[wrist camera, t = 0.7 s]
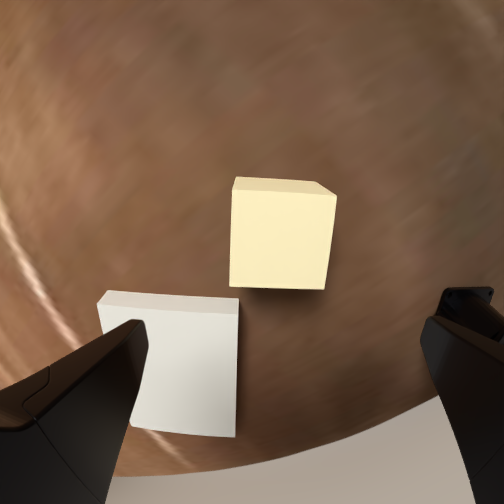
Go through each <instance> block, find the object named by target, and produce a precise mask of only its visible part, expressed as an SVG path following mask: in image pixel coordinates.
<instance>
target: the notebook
mask: <svg viewBox="0 0 504 504" xmlns="http://www.w3.org/2000/svg"><path fill="white" fill-rule="evenodd" d="M97 307H98V312H99V317H100V321H101V325H102V330H103V334H105V333H107V332H109V331H110V330H112V329H114V328H116V327H117V326H119V325H121V324H123V323H125V322H126V321H128V320H130V319H140V320H143V321H144V323H145V326H146V331H147V336H148V341H149V349H148V354H147V358H146V363H145V367H144V372H143V377H142V381H141V386H140V390H139V393H138V396H137V399H136V402H135V405H134V408H133V411H132V414H131V417H130V423H131V426H134V427H139V428H145V429H152V430H159V431H166V432H174V433H183V434H192V435H204V436H219V437H235V423H236V380H237V343H238V310H239V299H237V298H215V297H195V296H178V295H162V294H148V293H135V292H123V291H111V290H108V291H107V292H106V293H105V294H104V296H103V297H102V298H101V299H100V301H99V302H98V303H97Z"/></svg>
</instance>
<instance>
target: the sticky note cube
mask: <svg viewBox="0 0 504 504" xmlns="http://www.w3.org/2000/svg"><path fill="white" fill-rule="evenodd" d="M336 199H337V196H336V195H335V194H333V193H332V192H330V191H329V190H327V189H326V188H324V187H323V186H321V185H320V184H318V183H317V182H312V181H300V180H285V179H269V178H249V177H236V179H235V182H234V186H233V189H232V212H231V245H230V286H232V287H257V288H289V289H324V287H325V280H326V274H327V268H328V261H329V254H330V247H331V240H332V232H333V225H334V217H335V208H336Z"/></svg>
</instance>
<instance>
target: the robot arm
mask: <svg viewBox="0 0 504 504" xmlns="http://www.w3.org/2000/svg"><path fill="white" fill-rule="evenodd" d="M493 293H494V289H493V288H491V287H453V288H447V289H445V291H444V292H443V295H442V299H441V302H440V305H439V308H438V311H437V314H436V316H430V317H428V318H427V319H426V322H425V325H424V328H423V331H422V334H421V338H420V343H421V347H422V350H423V352H424V355H425V358H426V361H427V365H428V368H429V371H430V374H431V377H432V380H433V382H434V385H435V387H436V389H437V392H438V394H439V397H440V399H441V401H442V404H443V406H444V409H445V411H446V414H447V416H448V419H449V422H450V424H451V427H452V430H453V432H454V435H455V438H456V440H457V443H458V446H459V449H460V452H461V455H462V458H463V461H464V464H465V467H466V470H467V474H468V477H469V480H470V484H471V488H472V491H473V495H474V499H475V503H476V504H504V317H503V316H502V315H501V314H500V313H499V312H498V311H497V310H495V309H494V308H493V307H492V306H491V305H490V302H491V299H492V296H493ZM448 294H449V295H448ZM148 349H149V341H148V336H147V331H146V326H145V323H144V321H143V320H140V319H130V320H128V321H126V322H125V323H123V324H121V325H119V326H117V327H116V328H114V329H112V330H110V331H109V332H107V333H105V334H103V335H102V336H100V337H98V338H96V339H95V340H93V341H91V342H89V343H88V344H86V345H84V346H82V347H81V348H79V349H77V350H75V351H74V352H72V353H70V354H68V355H67V356H65V357H63V358H61V359H60V360H58V361H56V362H54V363H53V364H51V365H50V367H49V366H47V367H45V368H44V369H42V370H40V371H38V372H37V373H35V374H33V375H31V376H29V377H27V378H25V379H23V380H21V381H19V382H17V383H15V384H13V385H11V386H9V387H6V388H4V389H2V390H0V504H105V501H106V497H107V493H108V490H109V486H110V483H111V479H112V476H113V472H114V469H115V465H116V462H117V459H118V455H119V452H120V449H121V445H122V442H123V439H124V436H125V433H126V430H127V426H128V423H129V420H130V417H131V414H132V411H133V408H134V405H135V402H136V399H137V396H138V393H139V390H140V386H141V381H142V377H143V372H144V367H145V363H146V358H147V354H148Z"/></svg>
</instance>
